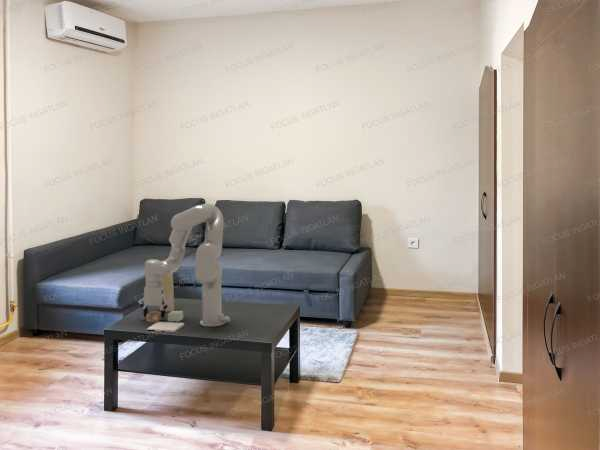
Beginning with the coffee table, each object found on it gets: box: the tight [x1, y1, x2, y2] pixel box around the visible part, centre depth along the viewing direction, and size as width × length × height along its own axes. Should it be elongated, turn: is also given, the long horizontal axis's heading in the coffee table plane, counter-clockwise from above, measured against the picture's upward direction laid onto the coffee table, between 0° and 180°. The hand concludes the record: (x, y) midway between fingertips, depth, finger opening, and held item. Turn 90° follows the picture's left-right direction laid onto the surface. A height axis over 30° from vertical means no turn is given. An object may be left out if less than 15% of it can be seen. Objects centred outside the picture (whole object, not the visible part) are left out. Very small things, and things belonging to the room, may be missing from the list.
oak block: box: [145, 310, 164, 323], centre depth 288 cm, size 6×6×4 cm
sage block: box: [167, 310, 184, 323], centre depth 289 cm, size 6×6×4 cm
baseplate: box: [146, 321, 185, 333], centre depth 275 cm, size 14×12×1 cm
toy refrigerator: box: [158, 272, 175, 313], centre depth 307 cm, size 8×7×21 cm
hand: (154, 316), depth 288 cm, fingers open, 8 cm apart
